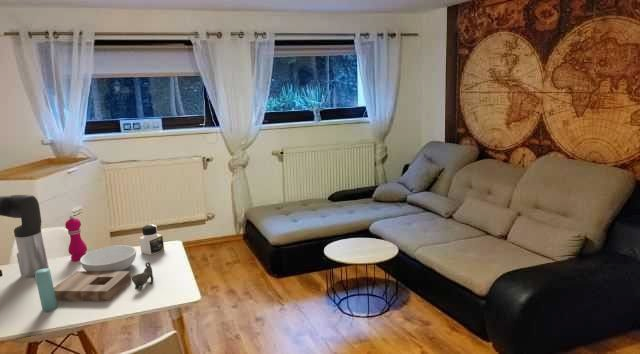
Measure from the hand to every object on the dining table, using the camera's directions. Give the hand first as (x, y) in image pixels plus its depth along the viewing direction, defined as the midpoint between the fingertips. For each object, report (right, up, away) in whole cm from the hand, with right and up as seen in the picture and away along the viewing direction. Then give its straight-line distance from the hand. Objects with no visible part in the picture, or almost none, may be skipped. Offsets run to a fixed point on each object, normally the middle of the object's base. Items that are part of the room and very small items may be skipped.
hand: (0, 268), depth 154 cm
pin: (+10, -16, +11) cm, 22 cm away
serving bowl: (+18, -9, +41) cm, 45 cm away
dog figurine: (+37, -12, +25) cm, 46 cm away
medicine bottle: (+29, -4, +58) cm, 65 cm away
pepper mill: (-2, -6, +54) cm, 54 cm away
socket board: (+19, -13, +23) cm, 32 cm away
